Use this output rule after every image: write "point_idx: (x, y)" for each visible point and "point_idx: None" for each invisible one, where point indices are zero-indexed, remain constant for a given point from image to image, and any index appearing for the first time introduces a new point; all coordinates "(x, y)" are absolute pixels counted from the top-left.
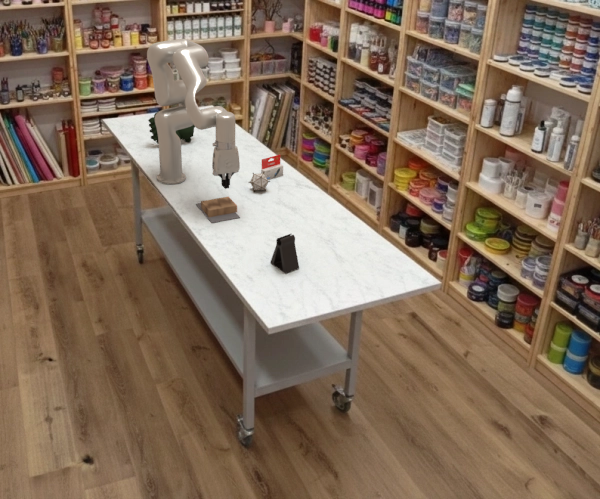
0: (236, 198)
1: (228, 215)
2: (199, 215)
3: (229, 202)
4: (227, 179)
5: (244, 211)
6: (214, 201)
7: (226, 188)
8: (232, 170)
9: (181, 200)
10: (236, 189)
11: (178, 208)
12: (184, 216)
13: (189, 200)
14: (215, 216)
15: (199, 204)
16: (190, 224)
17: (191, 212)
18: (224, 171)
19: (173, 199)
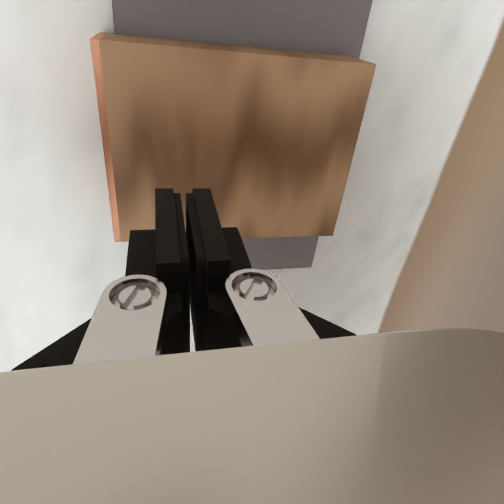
0: (36, 264)
1: (199, 4)
2: (371, 128)
3: (145, 138)
4: (182, 273)
5: (18, 30)
6: (254, 201)
7: (193, 189)
8: (44, 425)
9: (342, 318)
10: (6, 361)
11: (405, 251)
12: (444, 154)
13: (311, 309)
14: (302, 43)
15: (299, 252)
16: (497, 23)
17: (383, 186)
18: (384, 389)
19: (365, 333)
